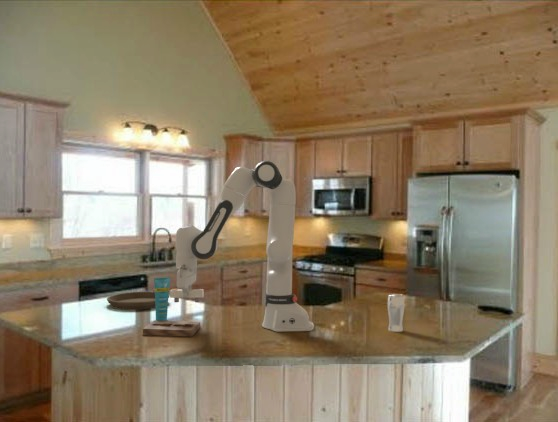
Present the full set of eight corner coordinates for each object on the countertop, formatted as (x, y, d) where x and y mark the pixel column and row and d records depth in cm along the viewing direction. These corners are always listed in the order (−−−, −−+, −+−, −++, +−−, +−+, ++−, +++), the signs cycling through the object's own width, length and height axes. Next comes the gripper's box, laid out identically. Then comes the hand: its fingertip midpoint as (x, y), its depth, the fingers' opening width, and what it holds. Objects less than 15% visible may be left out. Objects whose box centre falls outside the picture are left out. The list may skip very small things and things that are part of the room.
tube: (155, 322, 210) (155, 278, 209) (151, 319, 214) (152, 277, 213) (171, 320, 214) (172, 277, 214) (167, 317, 218) (168, 276, 218)
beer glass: (394, 333, 197) (395, 297, 197) (383, 329, 203) (384, 294, 203) (407, 331, 200) (408, 296, 200) (396, 327, 207) (396, 293, 207)
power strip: (203, 301, 205) (203, 288, 205) (202, 302, 202) (202, 289, 202) (171, 301, 206) (171, 288, 206) (170, 302, 203) (169, 289, 203)
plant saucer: (97, 303, 247) (97, 295, 247) (151, 296, 268) (151, 288, 268) (123, 314, 225) (123, 304, 224) (180, 305, 246) (180, 297, 246)
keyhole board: (200, 327, 201) (200, 321, 201) (192, 336, 188) (192, 330, 187) (153, 326, 203) (153, 320, 203) (142, 334, 189) (142, 328, 189)
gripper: (187, 266, 193) (188, 300, 193) (198, 260, 214) (199, 291, 214) (172, 266, 193) (173, 300, 194) (185, 261, 214) (185, 291, 214)
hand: (187, 295), depth 204 cm, fingers closed on power strip, 3 cm apart
